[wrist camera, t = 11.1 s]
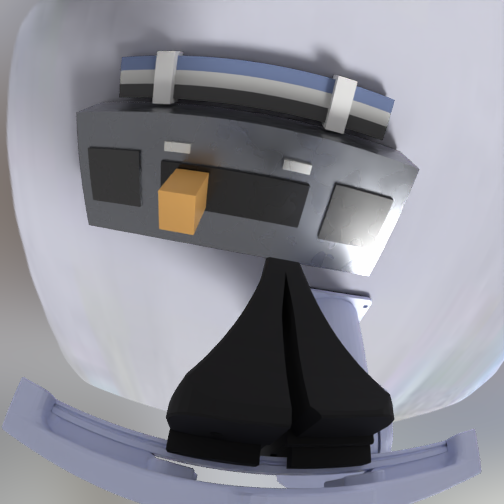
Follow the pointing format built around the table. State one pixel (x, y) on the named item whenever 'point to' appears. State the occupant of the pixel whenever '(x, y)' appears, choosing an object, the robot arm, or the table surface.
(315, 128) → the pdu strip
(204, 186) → the lever
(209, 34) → the table surface
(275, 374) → the robot arm
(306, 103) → the cords
